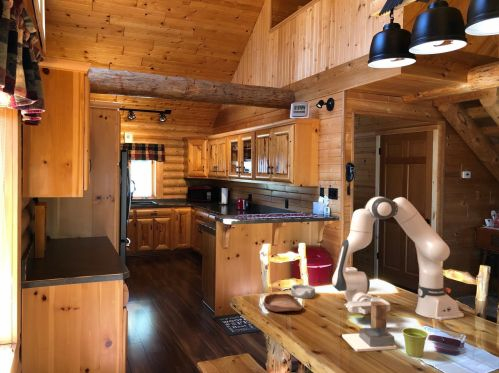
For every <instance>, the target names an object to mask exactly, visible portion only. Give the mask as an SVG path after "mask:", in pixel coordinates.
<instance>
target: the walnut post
mask: <svg viewBox="0 0 499 373" xmlns="http://www.w3.org/2000/svg"><path fill="white" fill-rule="evenodd" d="M387 313H388V311H387V305H386V304H385V303H383V302H382V301H380V302H371V312H370V328H377V327H382V328H384V329H385V330H386V331H387V315H388V314H387Z"/></svg>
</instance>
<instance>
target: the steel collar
mask: <svg viewBox="0 0 499 373" xmlns="http://www.w3.org/2000/svg"><path fill="white" fill-rule="evenodd" d="M358 334H359V337H360V338H361V339H362V340H363V341H364V342H365V343H366V344H368V345H369V346H370V347H376V346H391V345H395V336H394V335H393V334H392V333H391V332H389V331H387V329H386V330H385V329H384V328H382V327H377V328H371V327H364V328H363V327H362V328H359V329H358Z"/></svg>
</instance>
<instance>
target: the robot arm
mask: <svg viewBox="0 0 499 373" xmlns="http://www.w3.org/2000/svg"><path fill="white" fill-rule="evenodd" d="M391 217H393V218H394V219H395V221H396V222H397V223H398V225H399V226H400V228H402V230H403V231H404V232H405V234H406V235H407V237H409V238H410V240H412V241H413V242H414V245H415V249H416V255H417V262H418V271H419V273H418V274H419V275H418V278H419V281H418V286H417V288H418V289H417V295H418V296H417V297H418V298H417V304H416V307H415V312H414V313H416V314H418V315H419V316H422V317H426V318H430V319H436V320H440V321H444V320H451V319H457V318H464V313H463V312H462V311H460V310H459V305H458V303H457V301H456V300H455V299H453V298H452V297H451V296H449V295H448V294H447V293H451V292H452V290H451V288H449V287H445V286H444V270H443V266H442V263H441V262H444V261H446V260H447V259H448V258H449V256H450V253H451V252H450V251H451V250H450V247H449V246H448V244H447V243H446V242H445V241H444V240H443V239H442V237H441V236H440V235H439V234H438V233H437V232H436V231H435V230H434V228H432V227H431V225H429V224H428V223H427V221H426V219H424V217H423V216H422V214H420V212H419V211H418V210H417V208H416V207H415V206H414V205H413V203H411V202H410V201H409V200H408V199H406V198H405V197H402V196H399V197H396V198H394V199H393V200H392V199H389V198H387V197H384V196H372V197H370V198H369V200H368V201H366V204H365V205H364V206H363V208H359V209H356V210H355V211H353V213H352V217H351V222H350V228H349V230H350V231H349V234H348V237H347V238H346V239H344V240H343V242H342V243H341V246H340V250H339V253H338V259H337V261H336V265H335V270H334V272H333V275H332V278H331V282H332V286H333V288H335V290H337V291H339V292H343V293H344V294H343V296H344V298H345V300H346V301H347V302H346V303H344V304H343V305H344V307H345V308H347V310H348V312H349V313H350V314H363V315H368V313H371V302H380V301H382V302H383V303H385V304H386V305H387V312H390V311H391V304H390V302H389V301H387V300H385V299H384V298H381V296H380V295H375V294H368V293H369V290H370V287H371V281H370V277H369V276H368V275H367V273H366V272H364V271H360V270H359V271H358V270H357V271H345V270H346V268H347V266H348V263H349V262H348V261H349V257H350V256H351V254H353V253H355V252H357V251H359V250H360V251H361V250H362V249H364V248H367V246H369V245H370V244H371V243H372V240H373V233H374V232H373V231H374V230H373V229H374V227H373V226H374V223H375V222H376V220H377V219H379V220H386V219H390V218H391Z"/></svg>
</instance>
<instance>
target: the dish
mask: <svg viewBox="0 0 499 373" xmlns="http://www.w3.org/2000/svg"><path fill="white" fill-rule="evenodd" d="M290 293H291V294H290V295H292V296H294V297H295V298H300V299H310V298H313V297H315V294H316V288H315V287H314V286H312V285H309V284H305V285H304V284H293V285H291V287H290Z"/></svg>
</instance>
